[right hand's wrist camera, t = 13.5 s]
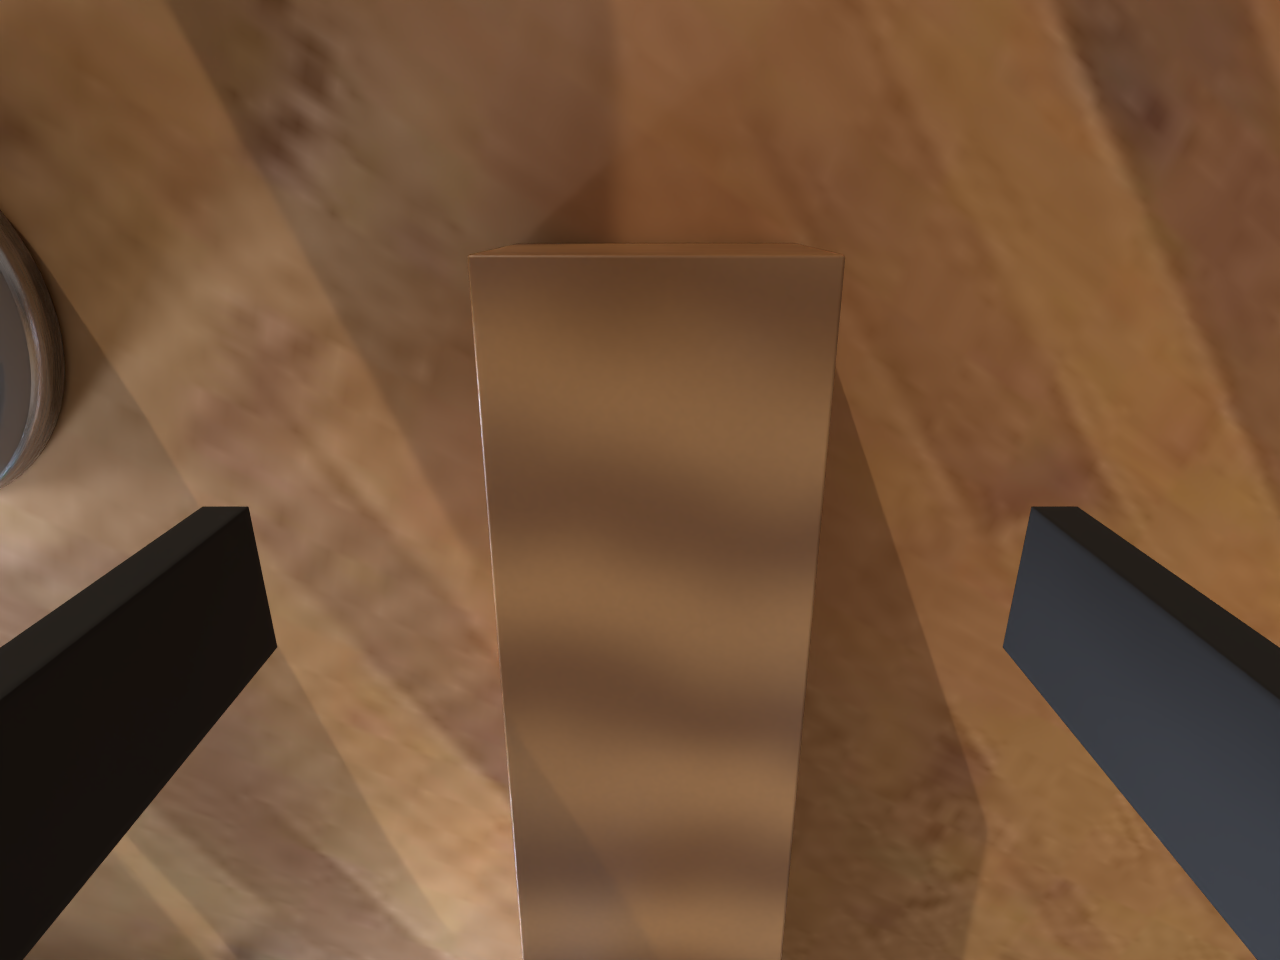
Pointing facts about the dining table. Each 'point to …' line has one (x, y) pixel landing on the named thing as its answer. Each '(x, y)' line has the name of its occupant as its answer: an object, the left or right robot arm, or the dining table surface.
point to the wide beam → (654, 579)
